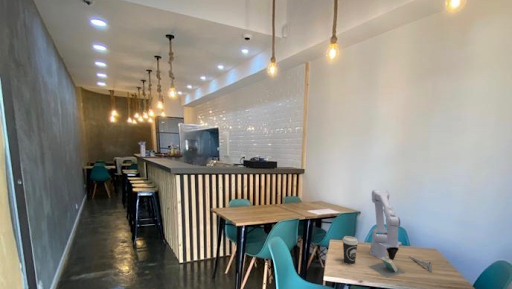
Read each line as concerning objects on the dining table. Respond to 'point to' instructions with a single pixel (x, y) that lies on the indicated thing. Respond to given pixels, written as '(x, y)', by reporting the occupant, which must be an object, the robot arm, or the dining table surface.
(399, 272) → the mat
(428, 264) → the caliper
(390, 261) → the tile
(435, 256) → the dining table surface
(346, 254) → the coffee cup
